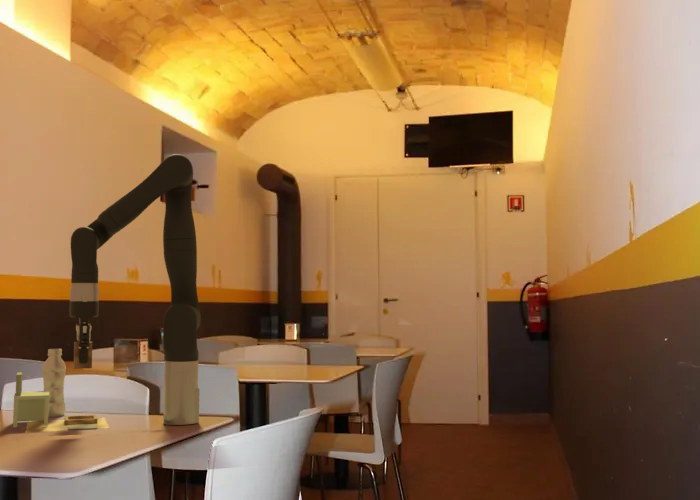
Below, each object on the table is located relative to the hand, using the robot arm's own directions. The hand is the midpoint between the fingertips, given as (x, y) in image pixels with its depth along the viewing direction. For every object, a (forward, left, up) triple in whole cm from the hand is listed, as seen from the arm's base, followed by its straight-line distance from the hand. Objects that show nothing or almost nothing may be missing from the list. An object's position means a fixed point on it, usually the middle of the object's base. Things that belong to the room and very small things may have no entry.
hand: (82, 362), depth 205 cm
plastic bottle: (+7, -16, -17) cm, 25 cm away
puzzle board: (+4, +4, -17) cm, 18 cm away
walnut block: (0, 0, -2) cm, 2 cm away
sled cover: (+13, 0, -16) cm, 20 cm away
